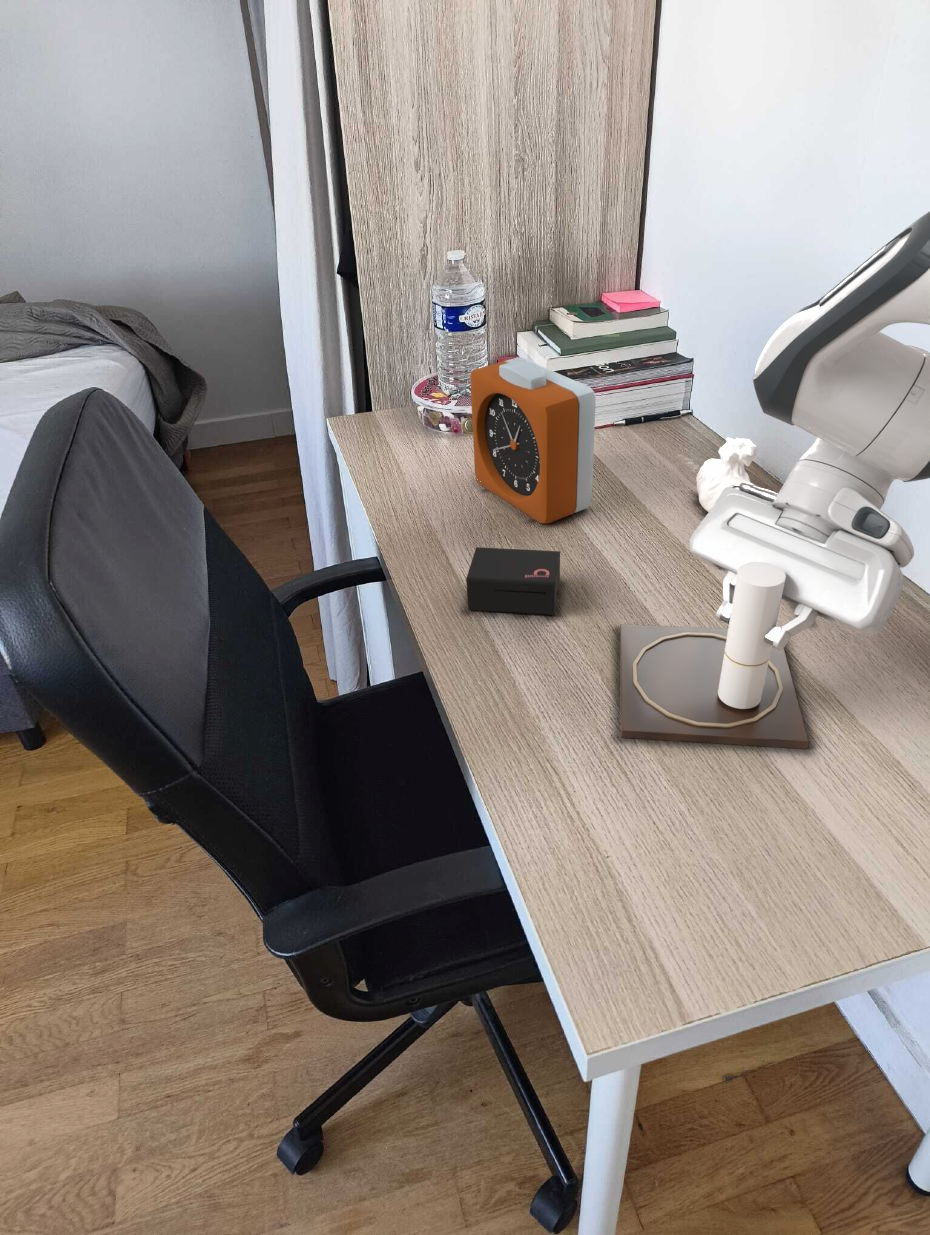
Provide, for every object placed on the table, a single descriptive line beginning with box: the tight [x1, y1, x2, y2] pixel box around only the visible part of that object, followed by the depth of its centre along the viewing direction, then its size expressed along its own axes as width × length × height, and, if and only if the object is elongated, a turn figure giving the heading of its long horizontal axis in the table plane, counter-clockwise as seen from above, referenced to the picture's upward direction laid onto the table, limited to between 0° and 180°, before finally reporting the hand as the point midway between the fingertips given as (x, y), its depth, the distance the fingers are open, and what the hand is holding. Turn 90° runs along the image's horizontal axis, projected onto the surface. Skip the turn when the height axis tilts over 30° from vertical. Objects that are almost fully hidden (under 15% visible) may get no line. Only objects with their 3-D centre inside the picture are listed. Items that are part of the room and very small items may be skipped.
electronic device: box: [466, 546, 561, 616], centre depth 104 cm, size 7×11×5 cm
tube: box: [718, 562, 786, 709], centre depth 83 cm, size 4×4×15 cm
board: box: [619, 623, 810, 750], centre depth 90 cm, size 18×18×1 cm
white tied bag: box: [695, 436, 759, 514], centre depth 119 cm, size 12×8×11 cm
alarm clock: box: [469, 356, 597, 524], centre depth 121 cm, size 18×9×21 cm, turn 33°
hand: (747, 633), depth 82 cm, fingers closed on tube, 4 cm apart
